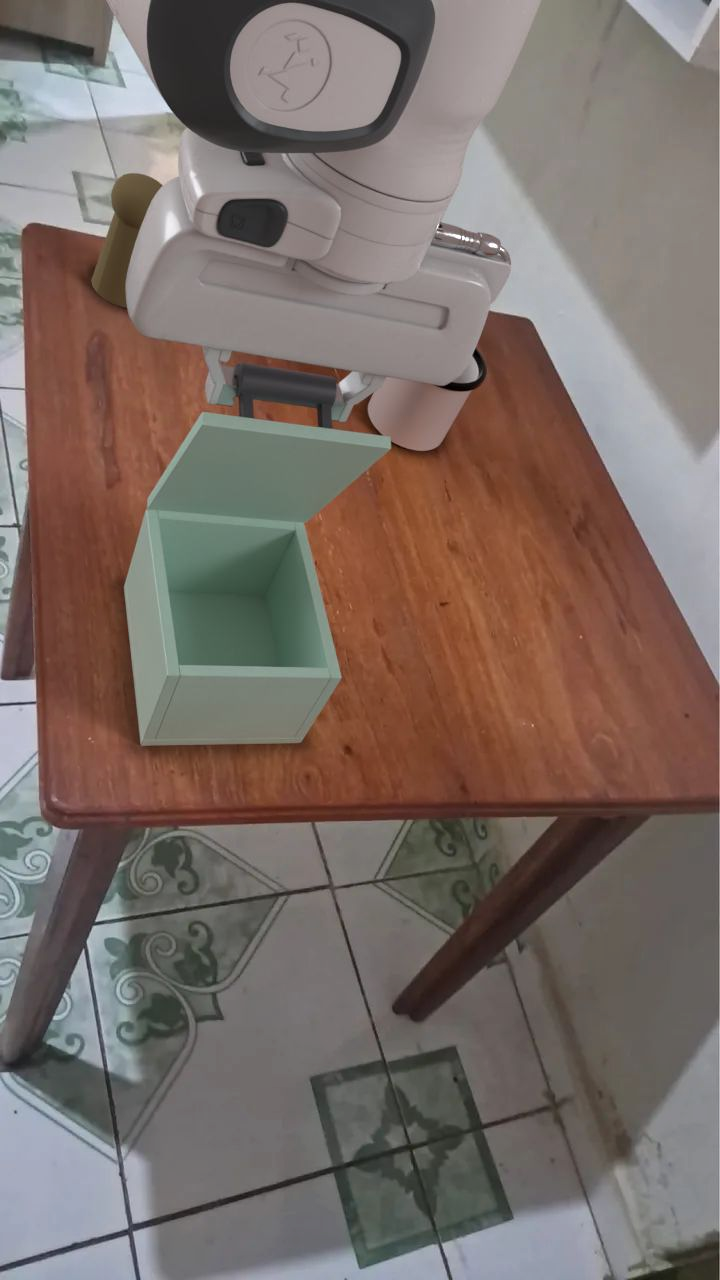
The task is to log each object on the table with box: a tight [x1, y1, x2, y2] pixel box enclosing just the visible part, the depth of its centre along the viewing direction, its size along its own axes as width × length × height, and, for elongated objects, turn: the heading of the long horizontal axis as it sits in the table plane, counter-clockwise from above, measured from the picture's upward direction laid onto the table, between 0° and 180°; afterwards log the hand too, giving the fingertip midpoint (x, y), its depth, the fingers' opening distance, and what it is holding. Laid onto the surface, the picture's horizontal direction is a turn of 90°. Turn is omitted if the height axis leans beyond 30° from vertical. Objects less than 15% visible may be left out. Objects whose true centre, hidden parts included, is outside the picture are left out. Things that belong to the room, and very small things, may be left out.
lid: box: [146, 361, 392, 524], centre depth 61 cm, size 14×12×5 cm
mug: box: [367, 347, 488, 452], centre depth 94 cm, size 12×10×9 cm
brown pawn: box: [91, 172, 164, 309], centre depth 88 cm, size 6×6×11 cm
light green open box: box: [123, 508, 343, 747], centre depth 67 cm, size 14×12×9 cm
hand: (275, 406), depth 59 cm, fingers closed on lid, 6 cm apart
